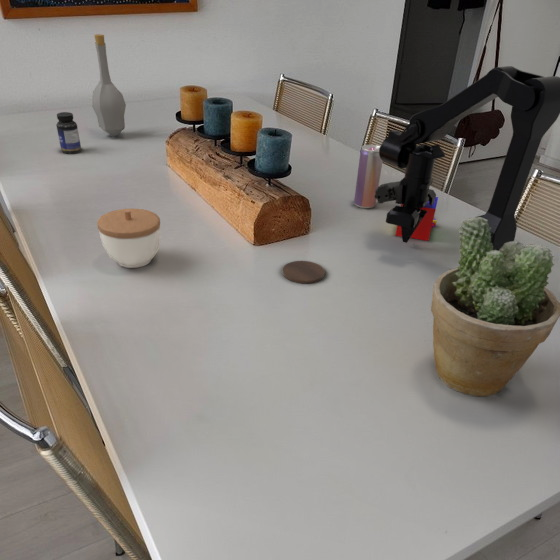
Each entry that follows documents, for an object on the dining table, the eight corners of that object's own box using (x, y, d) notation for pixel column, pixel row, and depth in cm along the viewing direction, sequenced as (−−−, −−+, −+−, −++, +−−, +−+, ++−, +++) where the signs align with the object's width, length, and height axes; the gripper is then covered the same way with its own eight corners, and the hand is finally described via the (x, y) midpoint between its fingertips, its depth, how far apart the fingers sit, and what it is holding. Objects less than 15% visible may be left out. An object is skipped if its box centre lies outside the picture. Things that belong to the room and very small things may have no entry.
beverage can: (350, 206, 147) (357, 148, 138) (358, 199, 151) (365, 142, 142) (371, 210, 145) (379, 152, 136) (378, 203, 149) (387, 147, 140)
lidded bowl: (173, 252, 121) (169, 204, 114) (147, 278, 112) (141, 227, 105) (122, 243, 124) (114, 196, 117) (92, 268, 114) (82, 218, 107)
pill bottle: (60, 149, 174) (52, 112, 168) (79, 147, 177) (73, 110, 170) (63, 154, 170) (55, 117, 163) (83, 153, 172) (76, 115, 165)
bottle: (137, 136, 189) (125, 35, 170) (113, 143, 181) (98, 38, 163) (113, 130, 194) (99, 31, 175) (89, 137, 186) (72, 34, 167)
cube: (395, 235, 133) (401, 203, 128) (399, 223, 139) (405, 192, 134) (428, 240, 132) (435, 208, 127) (431, 228, 138) (438, 197, 133)
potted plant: (536, 366, 94) (595, 229, 78) (514, 429, 81) (578, 281, 65) (434, 332, 101) (469, 200, 85) (398, 385, 88) (431, 242, 72)
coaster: (314, 287, 112) (314, 284, 111) (275, 276, 115) (275, 273, 114) (331, 269, 118) (331, 267, 118) (293, 259, 121) (293, 257, 121)
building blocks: (426, 214, 145) (427, 207, 144) (442, 226, 139) (444, 219, 138) (405, 216, 143) (406, 210, 142) (420, 228, 137) (422, 222, 136)
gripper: (396, 157, 127) (385, 220, 137) (368, 179, 114) (358, 248, 123) (443, 165, 123) (428, 230, 133) (420, 190, 110) (406, 260, 120)
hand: (405, 241), depth 127 cm, fingers closed
